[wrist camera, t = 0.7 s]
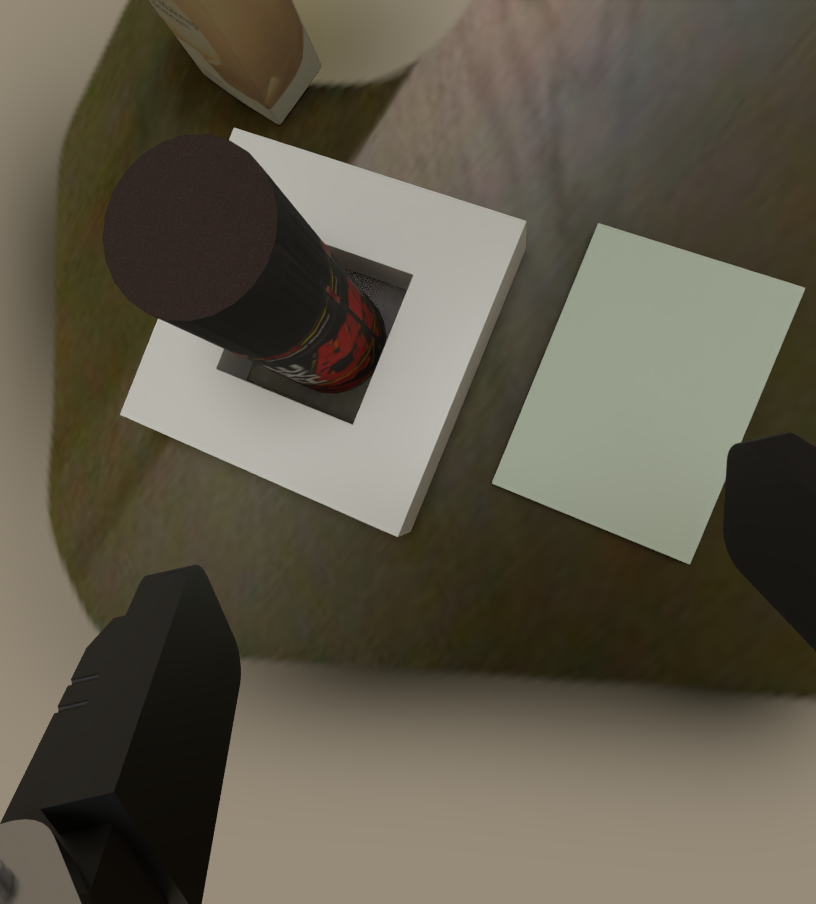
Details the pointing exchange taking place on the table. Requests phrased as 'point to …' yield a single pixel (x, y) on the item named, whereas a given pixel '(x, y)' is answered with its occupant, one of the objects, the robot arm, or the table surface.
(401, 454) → the socket block
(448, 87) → the table surface
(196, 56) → the skincare box
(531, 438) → the mat
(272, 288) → the deodorant
